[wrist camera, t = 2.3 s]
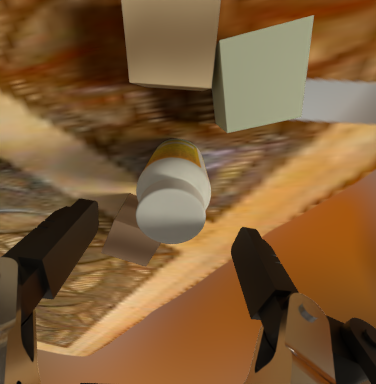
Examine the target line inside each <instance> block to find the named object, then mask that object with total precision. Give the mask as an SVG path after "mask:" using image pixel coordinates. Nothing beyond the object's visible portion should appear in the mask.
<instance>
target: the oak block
mask: <svg viewBox="0 0 376 384" xmlns="http://www.w3.org/2000/svg"><path fill="white" fill-rule="evenodd" d="M121 2H122V12H123V22H124V32H125V42H126V52H127V62H128V72H129V82H130V83H133V84H137V85H140V86H144V87H151V88H166V89H181V90H196V91H205V90H207V89H210V88H211V87H212V77H213V68H214V59H215V49H216V40H217V31H218V21H219V12H220V3H221V0H121Z"/></svg>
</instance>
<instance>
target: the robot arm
mask: <svg viewBox="0 0 376 384" xmlns="http://www.w3.org/2000/svg"><path fill="white" fill-rule="evenodd" d="M98 225H99V220H98V203H97V201H92V200H87V199H78V200H77V201H76V202H75V203H74V204H73V205H72V206H71V207H67V206H66V207H64V208H61V209H59V210H57V211H55V212H53V213H52V214H51V215H50V216H49V217H48V218H46V219H45V221H43V222H42V223H41V224H39V225H38V227H37V228H35V229H34V230H32V231H31V232H30V233H29V234H28V235H27V236H25V237H24V238H23V239H22V240H21V241H20V242H18V243H17V244H16V245H15V246H14V247H13V248H11V249H10V250H9V251H8V252H7V253H6V254H4V255H3V256H2V257H0V384H41V381H40V375H39V370H38V362H37V337H36V311H35V307H36V306H37V305H38V303H39V302H40V300H41V299H42V298H46V299H54V298H55V296H56V295H57V293H58V291H59V290H60V288H61V287H62V285H63V284H64V282H65V281H66V279H67V278H68V276H69V275H70V273H71V272H72V270H73V269H74V267H75V266H76V264H77V263H78V261H79V259H80V258H81V256H82V255H83V253H84V252H85V250H86V249H87V247H88V246H89V244H90V243H91V241H92V240H93V238H94V237H95V235H96V233H97V230H98ZM231 256H232V259H233V262H234V266H235V269H236V272H237V275H238V279H239V282H240V285H241V288H242V291H243V295H244V298H245V301H246V304H247V308H248V311H249V314H250V317H251V319H256V320H261V322H262V325H263V326H262V327H261V328H260V331H259V335H258V339H257V343H256V347H255V351H254V355H253V359H252V363H251V367H250V371H249V374H248V377H247V379H246V381H245V382H244V384H360V383H362V382H364V381H366V380H369V381H370V382H371V384H376V329H375V328H374V327H373V326H371V325H370V324H368V323H367V322H365V321H363V320H361V319H358V318H352V319H350V320H349V321H347V322H346V323H345V324H344V323H342V322H340V321H337V320H335V319H333V318H331V317H329V316H326V315H325V314H324V312H323V311H322V309H321V308H320V307H319V306H318V305H317V304H316V303H315V302H314V301H313V300H312V299H310V298H309V297H307V296H305V295H303V294H300V293H299V292H298V291H297V289H296V287H295V286H294V284H293V282H292V281H291V279H290V277H289V275H288V274H287V272H286V271H285V269H284V267H283V266H282V264H280V261H279V259H278V257H276V254H275V252H274V251H273V249H272V247H271V246H270V245H269V244H268V243H267V242H266V241H265V240H263V239H262V238H261V236H260V234H259V232H258V231H257V230H256V229H252V228H246V227H242V228H241V229H240V231H239V233H238V235H237V237H236V239H235V241H234V243H233V245H232V248H231ZM80 384H96V383H80Z"/></svg>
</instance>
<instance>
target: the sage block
mask: <svg viewBox="0 0 376 384" xmlns="http://www.w3.org/2000/svg"><path fill="white" fill-rule="evenodd" d="M313 18H314V15H313V16H309V17H306V18H302V19H298V20H294V21H291V22H287V23H283V24H279V25H276V26H272V27H268V28H264V29H261V30H257V31H253V32H249V33H245V34H242V35H238V36H234V37H230V38H227V39H223V40H219V42H218V44H217V45H216V49H215V59H214V68H213V77H212V96H213V105H214V113H215V122H216V124H217V125H218V126H219V127H221V128H222V129H223V130H224V131H226V132H227V133H229V132H234V131H239V130H243V129H248V128H252V127H257V126H262V125H266V124H271V123H275V122H280V121H285V120H289V119H294V118H298V117H301V115H302V106H303V98H304V90H305V82H306V74H307V66H308V58H309V50H310V42H311V34H312V26H313Z"/></svg>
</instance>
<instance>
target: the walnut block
mask: <svg viewBox="0 0 376 384" xmlns="http://www.w3.org/2000/svg"><path fill="white" fill-rule="evenodd" d="M138 203H139V202H138V199H137V196H136V195H133V194H131V193H130V194H129V195H128V197H127V199H126V201H125V202H124V204H123V206H122V208H121V209H120V211H119V213H118V215H117V216H116V218H115V220H114V222H113V225H112V227H111V230H110V232H109V235H108V237H107V240H106V242H105V244H104V247H103V249H102V252H101V253H103V254H106V255H110V256H113V257H116V258H119V259H123V260H126V261H129V262H133V263H136V264H139V265H142V266H147V264H148V263H149V261H150V259H151V258H152V256H153V255H154V253H155V251H156V250H157V248H158V247H159V245H160V244H161V242H157V241H155V240H153V239H151V238H149V237H148V236H146V235H145V234H144V233H143V232H142V231H141V229H140V228H139V226H138V224H137V221H136V209H137V206H138Z"/></svg>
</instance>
